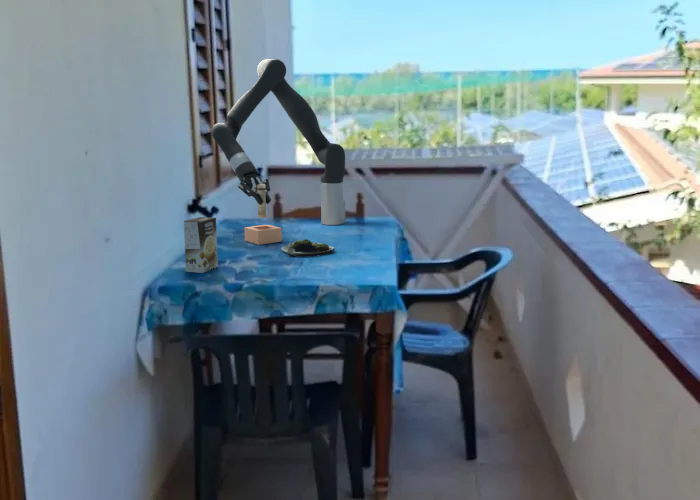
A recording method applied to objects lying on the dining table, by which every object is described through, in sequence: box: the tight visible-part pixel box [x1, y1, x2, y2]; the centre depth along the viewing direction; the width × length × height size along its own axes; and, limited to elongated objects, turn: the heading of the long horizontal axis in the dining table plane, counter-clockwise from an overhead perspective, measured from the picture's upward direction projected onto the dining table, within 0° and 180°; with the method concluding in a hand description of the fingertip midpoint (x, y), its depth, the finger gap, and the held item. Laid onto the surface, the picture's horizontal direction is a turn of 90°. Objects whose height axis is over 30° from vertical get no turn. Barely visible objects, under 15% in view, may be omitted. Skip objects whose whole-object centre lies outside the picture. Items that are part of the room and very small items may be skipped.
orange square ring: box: [244, 224, 283, 246], centre depth 293 cm, size 10×10×5 cm
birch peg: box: [257, 184, 267, 219], centre depth 291 cm, size 3×3×12 cm
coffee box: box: [183, 216, 219, 274], centre depth 246 cm, size 9×6×16 cm
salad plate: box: [281, 238, 335, 257], centre depth 274 cm, size 19×18×5 cm
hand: (265, 202), depth 289 cm, fingers closed on birch peg, 3 cm apart
